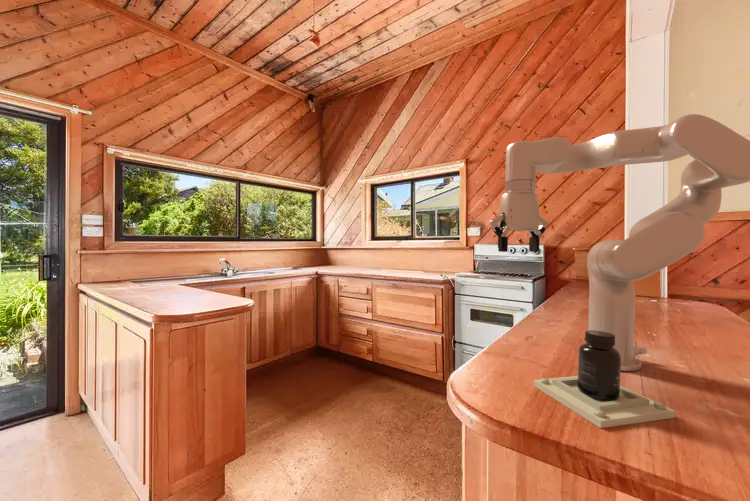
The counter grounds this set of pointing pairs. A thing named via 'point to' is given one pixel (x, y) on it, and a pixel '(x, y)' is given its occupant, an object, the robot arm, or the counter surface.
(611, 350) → the supplement bottle
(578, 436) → the counter surface
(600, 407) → the seating plate
